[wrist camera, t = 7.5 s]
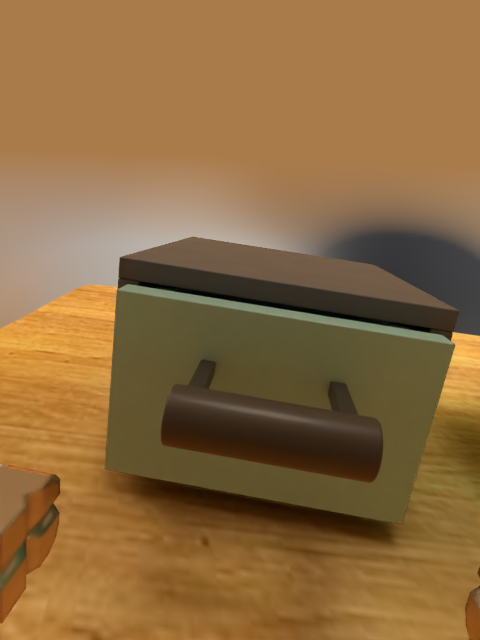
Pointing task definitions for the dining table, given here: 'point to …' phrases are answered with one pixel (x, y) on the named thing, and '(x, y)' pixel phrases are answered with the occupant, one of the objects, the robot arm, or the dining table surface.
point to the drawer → (271, 399)
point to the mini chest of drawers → (288, 281)
